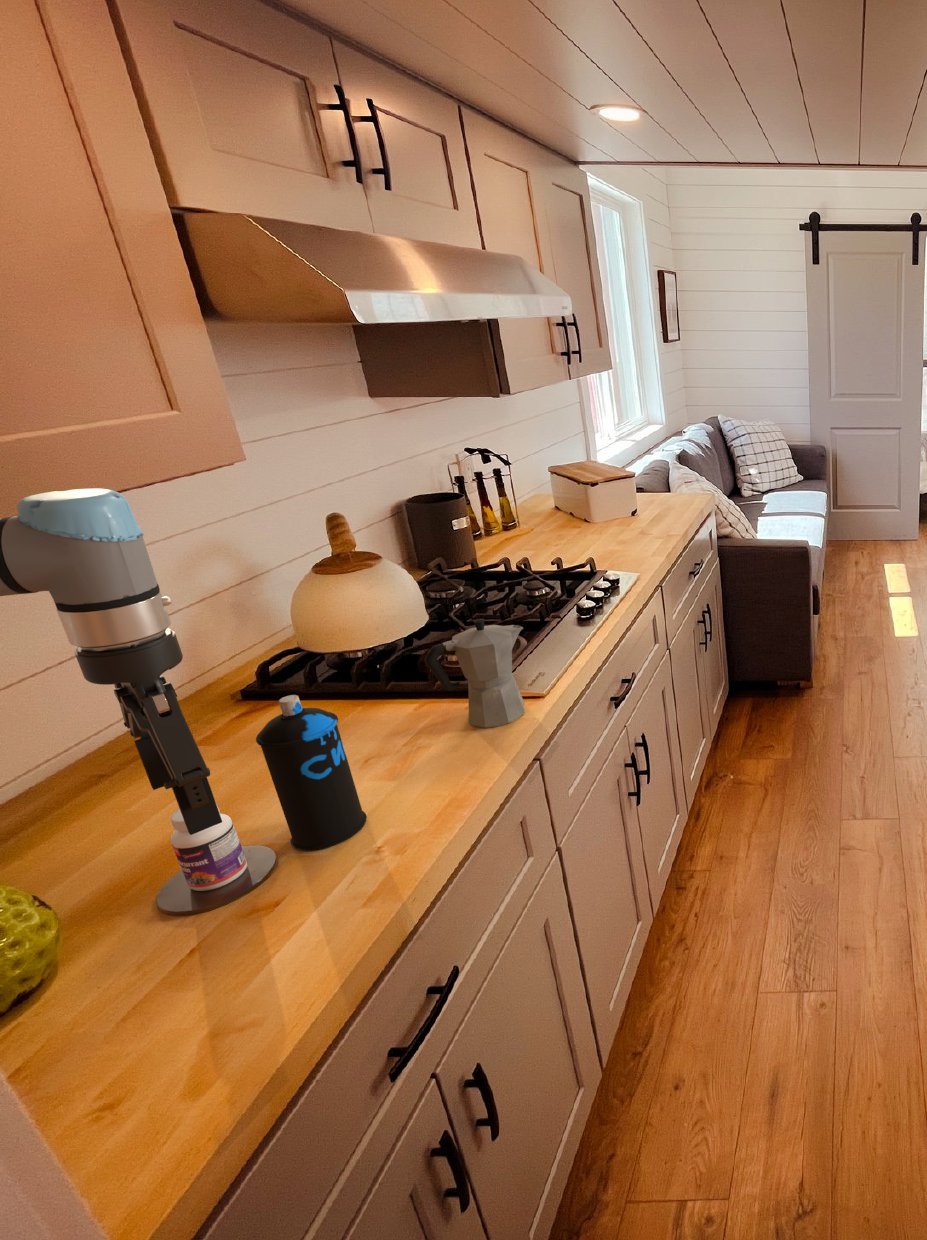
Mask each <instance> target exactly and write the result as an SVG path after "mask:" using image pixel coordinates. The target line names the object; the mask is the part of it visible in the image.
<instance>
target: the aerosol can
mask: <svg viewBox="0 0 927 1240" xmlns="http://www.w3.org/2000/svg"><path fill="white" fill-rule="evenodd" d="M278 704H279V707H280V710H281V714H279V715H277V716H275V717H273V718H272V719H270V720H269V721H268V722H267V723H266V724H265V725H264V726H263V728H262V729H261V730H260V731H259V732H258V733H257V735H256V736H255V743H257V745H258V746H260V748H261V752H262V754H263V757H264V759H265V763H266V766H267V768H268V772H269V775H270V777H271V781H272V783H273V787H274V789H275V792H276V795H277V798H278V801H279V804H280V807H281V810H282V812H283V815H284V818H285V821H286V825H287V826H288V830H289V833H290V836H291V837H290V844H291V846H292V847H293V848H294V849H296V850H300V851H318V850H324V849H326V848H327V849H328V848H331V847H333V846H336V845H339V844H341V843H343V842H345V841H347V840H348V839H350V838H352V837H353V836H354V835H356V834H358V833H359V831H361V829H362V828H363V827H364V826H365V824H366V822H367V818H368V817H367V814H366V812H365V811H363V809H362V805H361V801H360V798H359V794H358V791H357V788H356V784H355V781H354V778H353V775H352V771H351V767H350V764H349V761H348V757H347V754H346V751H345V747H344V744H343V740H342V738H341V734H340V730H339V727H338V722H339V717H338V716H337V714H335V713H334V712H331V711H327V710H326V709H325V710H324V709H321V708H319V707H302V704H301V700H300V697H299V695H297V694H290V695H287V696H283V697H281V698H280V699H279V700H278Z"/></svg>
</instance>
